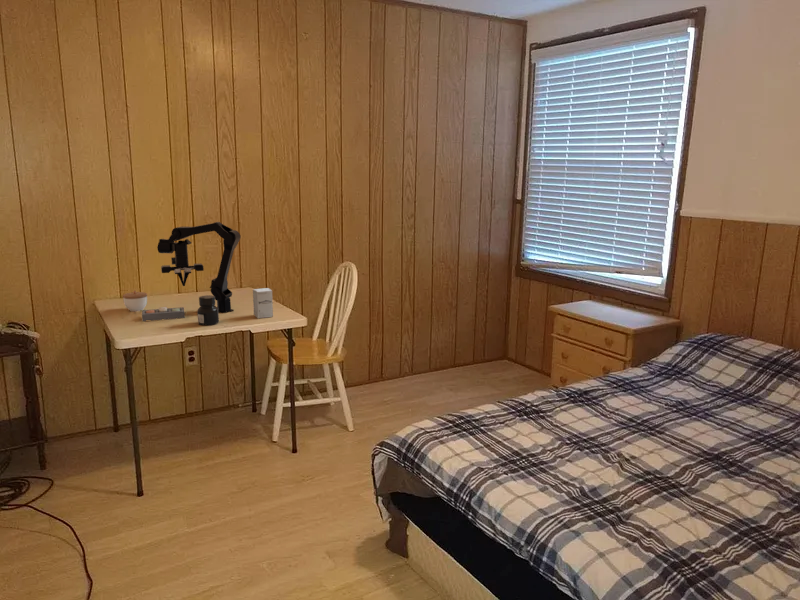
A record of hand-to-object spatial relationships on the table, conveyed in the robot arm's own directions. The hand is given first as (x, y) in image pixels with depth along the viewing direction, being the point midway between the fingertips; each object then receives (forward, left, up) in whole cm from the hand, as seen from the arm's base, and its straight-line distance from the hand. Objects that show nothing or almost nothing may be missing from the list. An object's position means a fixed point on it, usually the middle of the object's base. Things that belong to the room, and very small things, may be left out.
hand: (183, 286), depth 292 cm
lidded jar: (+18, +15, -12) cm, 26 cm away
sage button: (-8, +9, -10) cm, 16 cm away
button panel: (-5, +14, -12) cm, 19 cm away
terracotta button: (-2, +19, -10) cm, 22 cm away
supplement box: (-38, -17, -12) cm, 43 cm away
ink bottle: (-30, +7, -12) cm, 33 cm away
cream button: (-5, +14, -9) cm, 18 cm away
